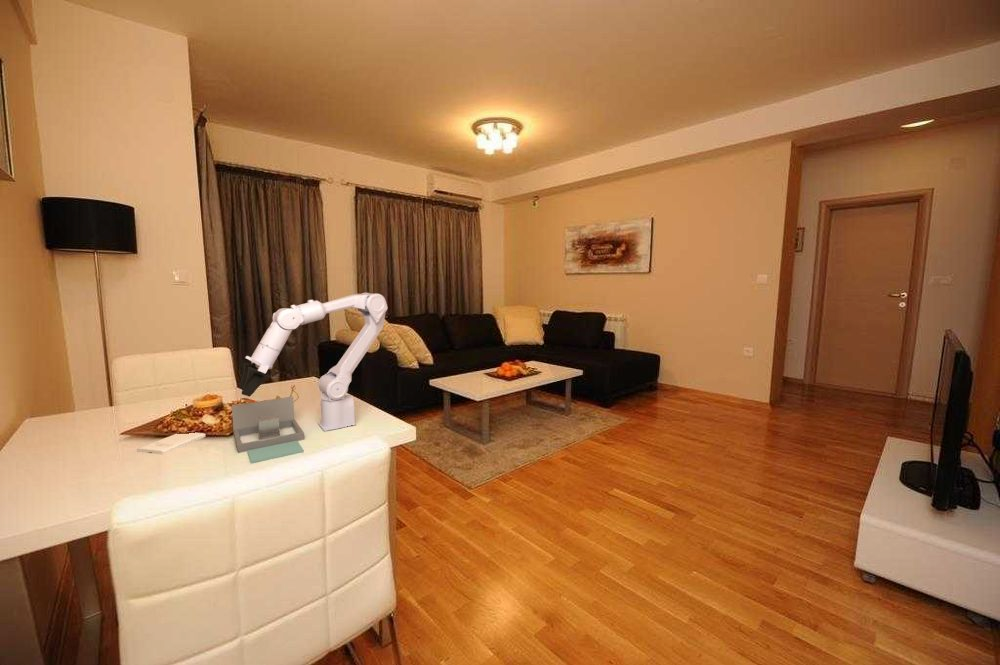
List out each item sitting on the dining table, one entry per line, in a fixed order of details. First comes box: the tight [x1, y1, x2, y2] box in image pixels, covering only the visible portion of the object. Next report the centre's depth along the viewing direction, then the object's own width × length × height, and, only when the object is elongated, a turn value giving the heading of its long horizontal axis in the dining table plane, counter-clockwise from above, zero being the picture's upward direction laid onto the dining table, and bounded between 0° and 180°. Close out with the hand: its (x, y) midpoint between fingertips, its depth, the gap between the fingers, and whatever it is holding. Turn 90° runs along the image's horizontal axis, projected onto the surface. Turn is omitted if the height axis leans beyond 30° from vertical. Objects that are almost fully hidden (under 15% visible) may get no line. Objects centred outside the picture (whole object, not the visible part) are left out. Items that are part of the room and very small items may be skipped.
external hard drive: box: [136, 432, 206, 455], centre depth 113 cm, size 2×8×12 cm
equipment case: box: [231, 395, 305, 454], centre depth 118 cm, size 16×15×9 cm
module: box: [257, 414, 281, 440], centre depth 118 cm, size 5×4×6 cm
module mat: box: [246, 441, 304, 464], centre depth 109 cm, size 12×8×1 cm, turn 126°
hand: (243, 392), depth 112 cm, fingers open, 7 cm apart
